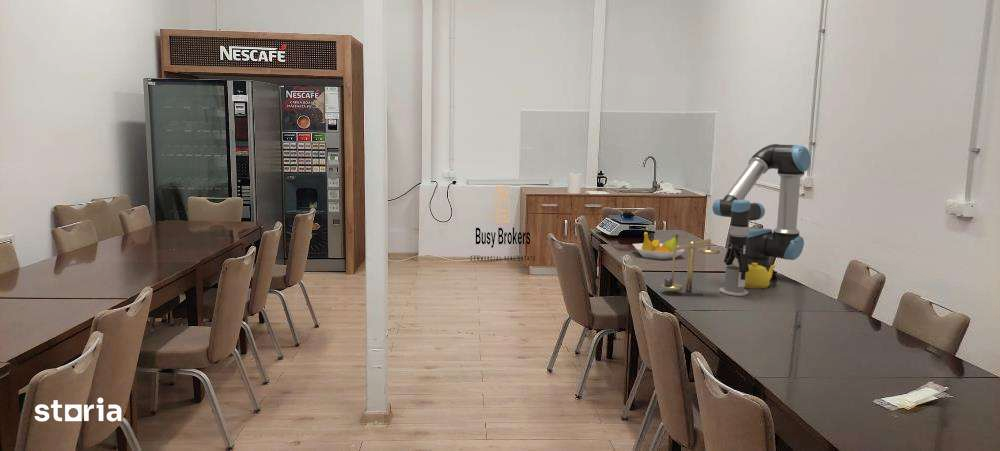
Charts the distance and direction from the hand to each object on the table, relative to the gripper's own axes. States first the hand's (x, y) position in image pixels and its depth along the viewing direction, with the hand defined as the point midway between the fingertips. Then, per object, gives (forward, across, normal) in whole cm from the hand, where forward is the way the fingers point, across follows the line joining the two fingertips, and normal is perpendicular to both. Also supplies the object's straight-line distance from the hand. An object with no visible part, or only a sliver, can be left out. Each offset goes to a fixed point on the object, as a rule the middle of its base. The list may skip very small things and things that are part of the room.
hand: (734, 283), depth 311 cm
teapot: (+5, -15, +15) cm, 22 cm away
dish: (+4, 0, 0) cm, 4 cm away
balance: (+4, +1, -21) cm, 21 cm away
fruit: (+5, -82, -8) cm, 83 cm away
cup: (+3, 0, 0) cm, 3 cm away
